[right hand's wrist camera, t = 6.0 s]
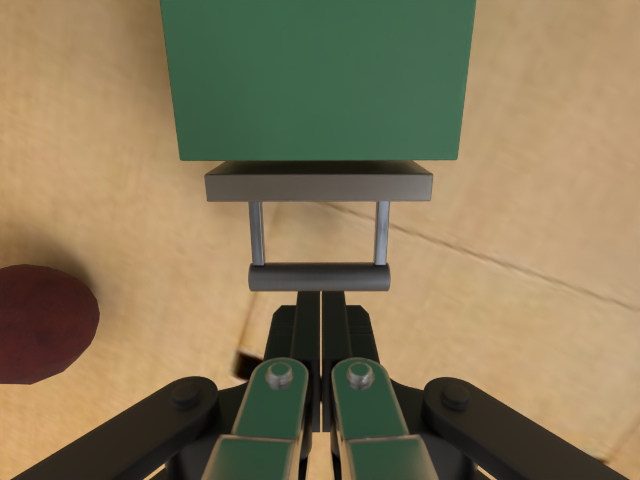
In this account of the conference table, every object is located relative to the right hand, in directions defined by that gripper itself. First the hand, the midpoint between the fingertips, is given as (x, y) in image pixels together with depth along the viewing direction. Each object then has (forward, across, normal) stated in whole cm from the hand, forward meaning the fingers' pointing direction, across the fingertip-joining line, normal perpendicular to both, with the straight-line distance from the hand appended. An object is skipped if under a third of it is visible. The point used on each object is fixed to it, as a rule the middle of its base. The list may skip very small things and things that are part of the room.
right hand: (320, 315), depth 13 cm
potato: (+13, +18, +6) cm, 23 cm away
